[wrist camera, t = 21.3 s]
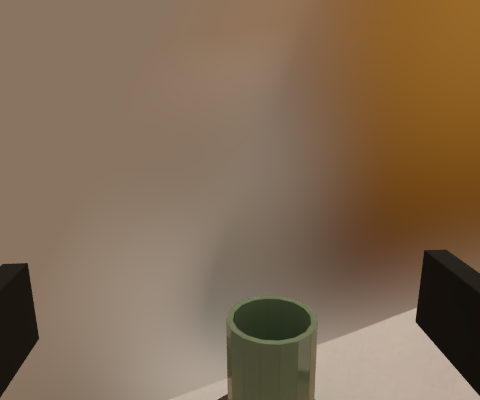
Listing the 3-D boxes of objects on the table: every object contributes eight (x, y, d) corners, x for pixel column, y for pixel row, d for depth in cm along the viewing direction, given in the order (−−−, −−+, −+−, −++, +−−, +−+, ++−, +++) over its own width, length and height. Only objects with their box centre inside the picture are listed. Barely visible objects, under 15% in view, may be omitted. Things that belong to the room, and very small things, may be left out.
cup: (212, 418, 36) (209, 314, 34) (272, 382, 40) (273, 288, 38) (267, 474, 31) (269, 356, 28) (329, 426, 35) (336, 320, 33)
